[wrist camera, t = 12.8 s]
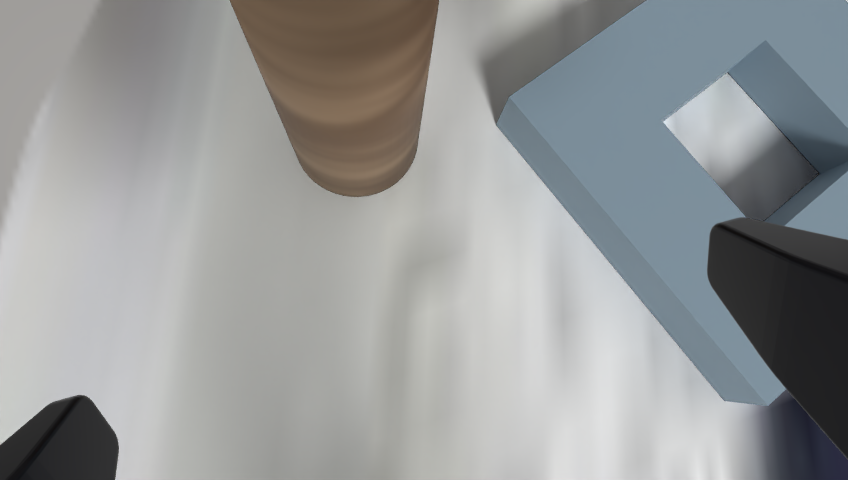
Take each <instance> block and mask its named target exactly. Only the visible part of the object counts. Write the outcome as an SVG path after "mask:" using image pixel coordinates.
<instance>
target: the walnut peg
mask: <svg viewBox="0 0 848 480" xmlns="http://www.w3.org/2000/svg"><path fill="white" fill-rule="evenodd" d="M230 2H231V5H232V7H233V9H234V12H235V14H236V16H237V19H238V21H239V23H240V25H241V28H242V30H243V32H244V35H245V37H246V39H247V42H248V44H249V46H250V49H251V51H252V53H253V56H254V58H255V60H256V63H257V65H258V67H259V70H260V72H261V74H262V77H263V79H264V81H265V84H266V86H267V88H268V91H269V93H270V95H271V97H272V100H273V102H274V104H275V107H276V109H277V111H278V114H279V116H280V118H281V121H282V123H283V125H284V128H285V130H286V132H287V135H288V137H289V139H290V142H291V144H292V146H293V149H294V151H295V153H296V156H297V158H298V160H299V163H300V164H301V166H302V168H303V170H304V171H305V172H306V173H307V175H308V176H309V177H310V178H311V179H312V180H313V181H314V182H315V183H317V184H318V185H319V186H321V187H323V188H324V189H326V190H328V191H331V192H333V193H336V194H339V195H343V196H351V197H361V196H369V195H373V194H376V193H379V192H382V191H384V190H386V189H388V188H390V187H391V186H393V185H394V184H395V183H397V182H398V181H399V180H400V179H401V178H402V177H403V176H404V175H405V173H406V172H407V171H408V169H409V168H410V166H411V164H412V162H413V160H414V158H415V154H416V151H417V145H418V138H419V131H420V125H421V118H422V111H423V105H424V98H425V91H426V85H427V78H428V71H429V65H430V58H431V52H432V45H433V38H434V32H435V25H436V18H437V12H438V5H439V0H230Z"/></svg>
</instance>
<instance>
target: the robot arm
mask: <svg viewBox="0 0 848 480" xmlns="http://www.w3.org/2000/svg"><path fill="white" fill-rule="evenodd" d="M707 276H708V280H709V283H710V285H711V287H712V288H713V290H714V291H715V293H716V294H717V296H718V297H719V299H720V300H721V301H722V303H723V304H724V306H725V307H726V308H727V310H728V311H729V313H730V314H731V316H732V317H733V318H734V320H735V321H736V323H737V324H738V326H739V327H740V328H741V330H742V331H743V333H744V334H745V336H746V337H747V338H748V340H749V341H750V343H751V344H752V345H753V347H754V348H755V350H756V351H757V353H758V354H759V355H760V357H761V358H762V359H763V361H764V362H765V363H766V365H767V366H768V367H769V369H770V370H771V371H772V373H773V374H774V375H775V376H776V377H777V379H778V380H779V381H780V382H781V383H782V385H783V386H784V387H785V388H786V389H787V390H788V392H789V393H790V394H791V395H792V396H793V397H794V398H795V400H796V401H797V402H798V403H799V404H800V405H801V406H802V408H803V409H804V410H805V411H806V412H807V413H808V414H809V416H810V417H811V418H812V419H813V420H814V421H815V422H816V424H817V425H818V426H819V427H820V428H821V429H822V430H823V432H824V433H825V434H826V435H827V436H828V437H829V439H830V440H831V441H832V442H833V443H834V444H835V445H836V447H837V448H838V449H839V450H840V451H841V452H842V453H843V455H844V456H845V457H846V458H847V459H848V240H847V239H842V238H838V237H833V236H829V235H824V234H819V233H815V232H810V231H806V230H801V229H796V228H792V227H787V226H782V225H778V224H773V223H769V222H764V221H759V220H755V219H750V218H745V217H739V218H735V219H731V220H727V221H724V222H720V223H717V224H715V225H714V226H713V227H712V229H711V231H710V235H709V248H708V261H707ZM118 453H119V445H118V439H117V437H116V434H115V432H114V431H113V429H112V428H111V426H110V425H109V424H108V422H107V421H106V419H105V418H104V417H103V415H102V414H101V413H100V411H99V410H98V408H97V407H96V406H95V404H94V403H93V401H92V400H91V399H90V398H88V397H87V396H84V395H77V396H73V397H69V398H65V399H62V400H58V401H55V402H52V403H50V404H49V405H47V406H46V407H45V408H44V409H42V410H41V411H40V412H39V413H38V414H37V415H35V416H34V417H33V418H32V419H31V420H29V421H28V422H27V423H26V424H25V425H24V426H22V427H21V428H20V429H19V430H18V431H16V432H15V433H14V434H13V435H12V436H11V437H9V438H8V439H7V440H6V441H5V442H3V443H2V444H1V445H0V480H115V477H116V469H117V461H118Z"/></svg>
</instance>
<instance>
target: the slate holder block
mask: <svg viewBox="0 0 848 480" xmlns="http://www.w3.org/2000/svg"><path fill="white" fill-rule="evenodd" d="M727 72H728V73H729V74H730V75H731V77H732V78H733V79H734V80H735V81H736V82H737V83H738V84H739V85H740V86H741V87H742V89H743V90H744V91H745V92H746V93H747V94H748V95H749V96H750V97H751V98H752V100H753V101H754V102H755V103H756V104H757V105H758V106H759V107H760V108H761V109H762V110H763V112H764V113H765V114H766V115H767V116H768V117H769V118H770V119H771V120H772V121H773V123H774V124H775V125H776V126H777V127H778V128H779V129H780V130H781V131H782V132H783V133H784V135H785V136H786V137H787V138H788V139H789V140H790V141H791V142H792V143H793V144H794V146H795V147H796V148H797V149H798V150H799V151H800V152H801V153H802V154H803V155H804V156H805V158H806V159H807V160H808V161H809V162H810V163H811V164H812V165H813V166H814V167H815V169H816V170H817V171H818V172H819V173H820V174H819V175H818V176H817V177H815V178H814V179H813V180H812V181H811V182H810V183H808V184H807V185H806V186H805V187H804V188H803V189H801V190H800V191H799V192H798V193H797V194H795V195H794V196H793V197H792V198H791V199H790V200H788V201H787V202H786V203H785V204H784V205H783V206H781V207H780V208H779V209H778V210H777V211H775V212H774V213H773V214H772V215H771V216H770V217H768V218H767V219H766V220H765V221H764V222H769V223H773V224H778V225H782V226H787V227H792V228H796V229H801V230H806V231H810V232H815V233H819V234H824V235H829V236H833V237H838V238H842V239H847V240H848V2H847V1H846V0H646V1H644V2H643V3H642V4H640V5H639V6H637V7H636V8H634V9H633V10H632V11H630V12H629V13H627V14H626V15H625V16H623V17H622V18H620V19H619V20H617V21H616V22H615V23H613V24H612V25H610V26H609V27H607V28H606V29H605V30H603V31H602V32H600V33H599V34H598V35H596V36H595V37H593V38H592V39H590V40H589V41H588V42H586V43H585V44H583V45H582V46H580V47H579V48H578V49H576V50H575V51H573V52H572V53H571V54H569V55H568V56H566V57H565V58H563V59H562V60H561V61H559V62H558V63H556V64H555V65H554V66H552V67H551V68H549V69H548V70H546V71H545V72H544V73H542V74H541V75H539V76H538V77H536V78H535V79H534V80H532V81H531V82H529V83H528V84H527V85H525V86H524V87H522V88H521V89H519V90H518V91H517V92H515V93H514V94H512V95H511V96H509V98H508V100H507V102H506V104H505V107H504V109H503V111H502V113H501V115H500V117H499V119H498V122H497V124H496V125H497V126H498V128H499V129H500V130H501V131H502V133H503V134H504V135H505V136H506V137H507V139H508V140H509V141H510V142H511V143H512V145H513V146H514V147H515V148H516V149H517V151H518V152H519V153H520V154H521V156H522V157H523V158H524V159H525V160H526V162H527V163H528V164H529V165H530V166H531V168H532V169H533V170H534V171H535V172H536V174H537V175H538V176H539V177H540V178H541V180H542V181H543V182H544V183H545V185H546V186H547V187H548V188H549V189H550V191H551V192H552V193H553V194H554V195H555V197H556V198H557V199H558V200H559V201H560V203H561V204H562V205H563V206H564V208H565V209H566V210H567V211H568V212H569V214H570V215H571V216H572V217H573V218H574V220H575V221H576V222H577V223H578V224H579V226H580V227H581V228H582V229H583V231H584V232H585V233H586V234H587V235H588V237H589V238H590V239H591V240H592V241H593V243H594V244H595V245H596V246H597V247H598V249H599V250H600V251H601V252H602V254H603V255H604V256H605V257H606V258H607V260H608V261H609V262H610V263H611V264H612V266H613V267H614V268H615V269H616V270H617V272H618V273H619V274H620V275H621V276H622V278H623V279H624V280H625V281H626V283H627V284H628V285H629V286H630V287H631V289H632V290H633V291H634V292H635V293H636V295H637V296H638V297H639V298H640V299H641V301H642V302H643V303H644V304H645V306H646V307H647V308H648V309H649V310H650V312H651V313H652V314H653V315H654V316H655V318H656V319H657V320H658V321H659V322H660V324H661V325H662V326H663V327H664V329H665V330H666V331H667V332H668V333H669V335H670V336H671V337H672V338H673V339H674V341H675V342H676V343H677V344H678V345H679V347H680V348H681V349H682V350H683V352H684V353H685V354H686V355H687V356H688V358H689V359H690V360H691V361H692V362H693V364H694V365H695V366H696V367H697V368H698V370H699V371H700V372H701V373H702V374H703V376H704V377H705V378H706V379H707V381H708V382H709V383H710V384H711V385H712V387H713V388H714V389H715V390H716V391H717V393H718V394H719V395H720V396H721V397H722V399H723V400H724V401H730V402H739V403H747V404H756V405H764V406H768V405H769V404H771V403H772V402H773V401H774V400H775V399H776V398H777V397H778V396H779V395H780V394H781V393H782V392H783V391H784V390H785V389H786V388H785V387H784V386H783V385H782V383H781V382H780V381H779V380H778V379H777V377H776V376H775V375H774V374H773V373H772V371H771V370H770V369H769V367H768V366H767V365H766V363H765V362H764V361H763V359H762V358H761V357H760V355H759V354H758V353H757V351H756V350H755V348H754V347H753V345H752V344H751V343H750V341H749V340H748V338H747V337H746V336H745V334H744V333H743V331H742V330H741V328H740V327H739V326H738V324H737V323H736V321H735V320H734V318H733V317H732V316H731V314H730V313H729V311H728V310H727V308H726V307H725V306H724V304H723V303H722V301H721V300H720V299H719V297H718V296H717V294H716V293H715V291H714V290H713V288H712V287H711V285H710V283H709V280H708V276H707V261H708V248H709V235H710V231H711V229H712V227H713V226H714V225H715V224H717V223H720V222H724V221H727V220H731V219H735V218H739V217H745V215H744V214H743V213H742V212H741V211H740V210H739V209H738V207H737V206H736V205H735V204H734V203H733V202H732V201H731V199H730V198H729V197H728V196H727V195H726V194H725V193H724V191H723V190H722V189H721V188H720V187H719V186H718V185H717V183H716V182H715V181H714V180H713V179H712V178H711V177H710V176H709V174H708V173H707V172H706V171H705V170H704V169H703V168H702V166H701V165H700V164H699V163H698V162H697V161H696V160H695V158H694V157H693V156H692V155H691V154H690V153H689V152H688V150H687V149H686V148H685V147H684V146H683V145H682V144H681V143H680V141H679V140H678V139H677V138H676V137H675V136H674V135H673V133H672V132H671V131H670V130H669V129H668V128H667V127H666V125H665V124H664V123H663V121H664V120H666V119H667V118H668V117H670V116H671V115H672V114H673V113H675V112H676V111H677V110H679V109H680V108H681V107H683V106H684V105H685V104H686V103H688V102H689V101H690V100H692V99H693V98H694V97H696V96H697V95H698V94H700V93H701V92H702V91H703V90H705V89H706V88H707V87H709V86H710V85H711V84H713V83H714V82H715V81H717V80H718V79H719V78H720V77H722V76H723V75H724V74H726V73H727ZM745 218H746V217H745Z"/></svg>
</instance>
